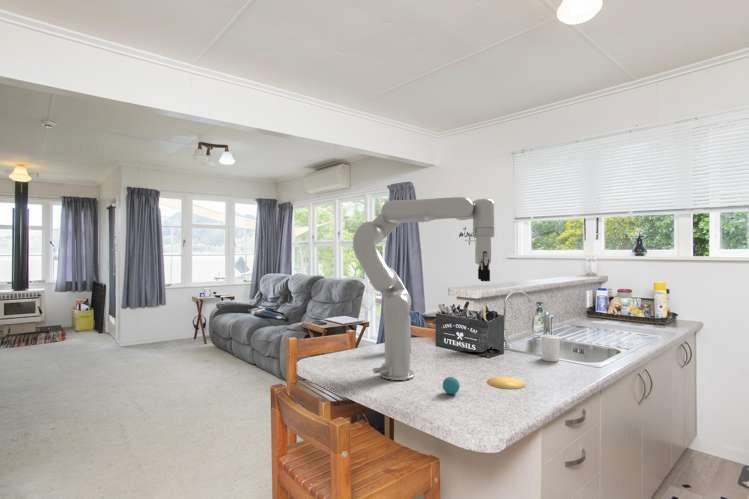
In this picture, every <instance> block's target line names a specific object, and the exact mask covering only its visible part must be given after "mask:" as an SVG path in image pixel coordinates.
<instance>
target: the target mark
mask: <svg viewBox="0 0 749 499" xmlns="http://www.w3.org/2000/svg"><path fill="white" fill-rule="evenodd" d="M486 382H487V384H488V385H489V386H492V387H494V388H498V389H504V390H520V389H522V388H525V387H526V382H524V381H522V380H521V379H518V378H515V377H507V376H496V377H489V378H488V379H487V380H486Z"/></svg>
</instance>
